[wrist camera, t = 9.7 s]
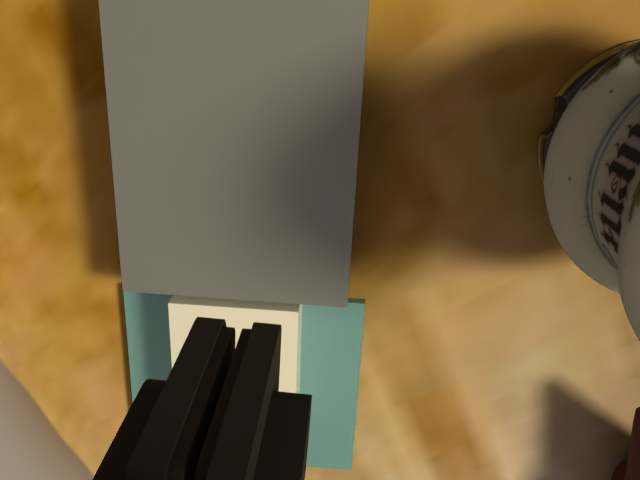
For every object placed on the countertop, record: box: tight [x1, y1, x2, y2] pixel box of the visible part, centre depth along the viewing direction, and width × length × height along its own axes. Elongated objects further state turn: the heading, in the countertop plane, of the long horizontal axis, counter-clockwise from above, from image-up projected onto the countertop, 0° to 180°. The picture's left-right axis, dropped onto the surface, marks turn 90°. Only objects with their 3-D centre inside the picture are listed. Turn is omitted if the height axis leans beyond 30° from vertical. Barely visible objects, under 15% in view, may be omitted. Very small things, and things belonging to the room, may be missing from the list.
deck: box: [98, 0, 369, 308], centre depth 31 cm, size 16×12×3 cm
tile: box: [168, 295, 302, 393], centre depth 35 cm, size 8×7×2 cm
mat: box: [123, 291, 365, 470], centre depth 37 cm, size 12×14×1 cm
